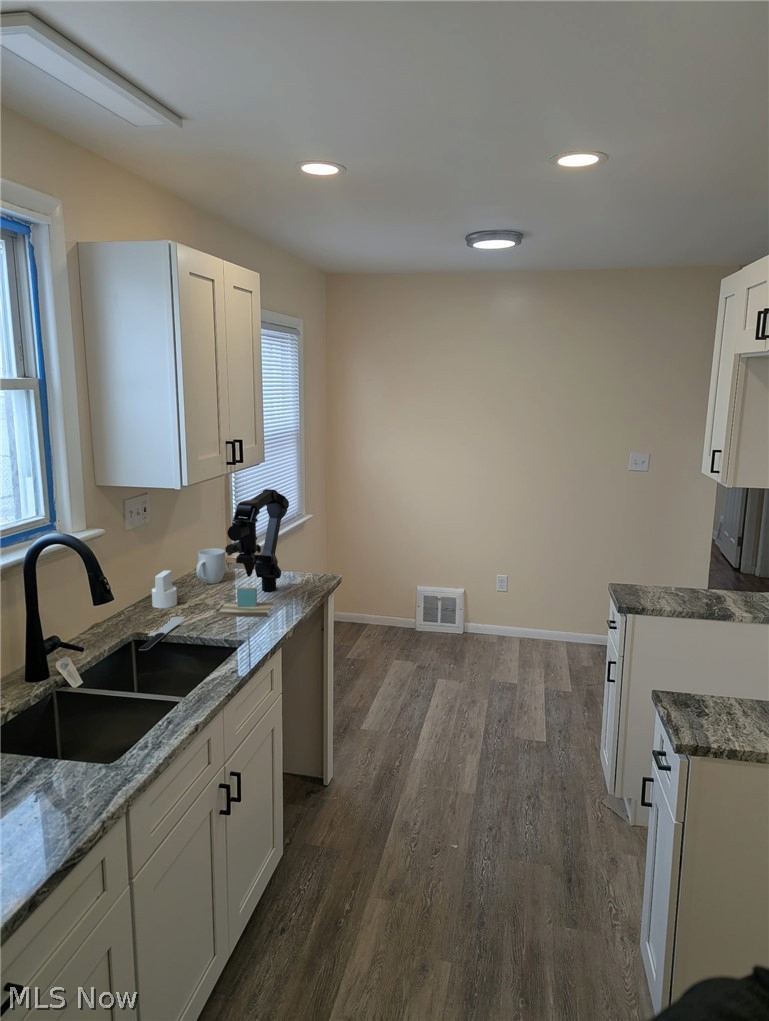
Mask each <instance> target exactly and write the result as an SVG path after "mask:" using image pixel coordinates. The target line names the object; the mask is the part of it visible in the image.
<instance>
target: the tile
mask: <svg viewBox="0 0 769 1021" xmlns="http://www.w3.org/2000/svg"><path fill="white" fill-rule="evenodd" d="M257 589H258V588H257V587H244V586H243V587H237V588H236V595H237V596H236V599H237V601H236V602H237V606H238V607H257V602H258V590H257Z"/></svg>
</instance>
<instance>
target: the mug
mask: <svg viewBox="0 0 769 1021" xmlns="http://www.w3.org/2000/svg"><path fill="white" fill-rule="evenodd" d="M225 551H226V549H225V550H224V549H221V548H204V549H201V550H198V554H197V555H198V560H197V565H196V569H195V570H196V573H195V574H196V576H197V578H198V579H199V580H200V581H203V582H204V583H205V584H213V585H215V584H218V583H221V581H222V580H223V578H224V576H225V573H226V552H225Z"/></svg>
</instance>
